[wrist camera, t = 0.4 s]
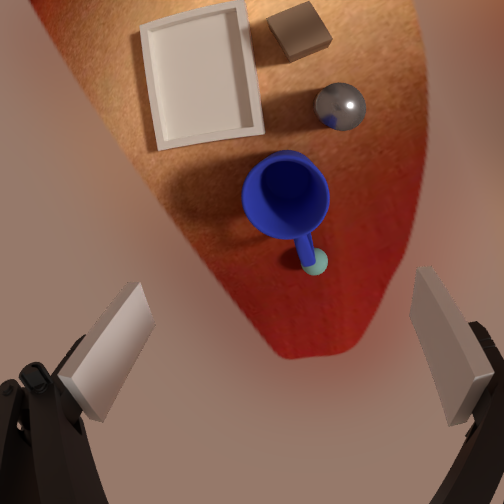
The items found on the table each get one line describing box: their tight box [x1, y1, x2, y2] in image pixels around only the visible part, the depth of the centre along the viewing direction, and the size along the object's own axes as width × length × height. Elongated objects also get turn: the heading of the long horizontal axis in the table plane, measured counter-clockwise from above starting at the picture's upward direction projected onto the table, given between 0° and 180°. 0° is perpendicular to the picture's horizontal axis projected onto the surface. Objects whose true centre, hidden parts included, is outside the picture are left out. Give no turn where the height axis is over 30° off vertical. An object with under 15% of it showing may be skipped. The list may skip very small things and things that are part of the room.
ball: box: [301, 248, 328, 275], centre depth 40 cm, size 4×4×4 cm
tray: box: [140, 0, 265, 151], centre depth 32 cm, size 17×13×2 cm
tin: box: [313, 83, 366, 131], centre depth 31 cm, size 5×5×6 cm
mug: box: [241, 150, 330, 267], centre depth 34 cm, size 8×12×10 cm
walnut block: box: [266, 1, 333, 63], centre depth 28 cm, size 5×5×5 cm
